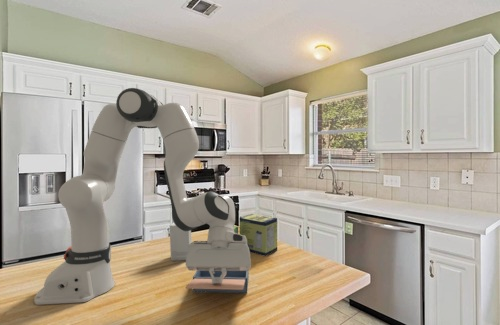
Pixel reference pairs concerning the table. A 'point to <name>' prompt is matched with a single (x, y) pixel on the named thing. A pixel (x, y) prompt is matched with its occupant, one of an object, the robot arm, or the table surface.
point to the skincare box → (179, 243)
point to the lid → (207, 284)
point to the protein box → (259, 233)
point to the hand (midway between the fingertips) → (216, 284)
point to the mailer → (228, 276)
